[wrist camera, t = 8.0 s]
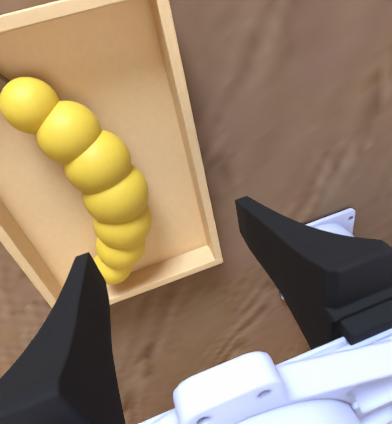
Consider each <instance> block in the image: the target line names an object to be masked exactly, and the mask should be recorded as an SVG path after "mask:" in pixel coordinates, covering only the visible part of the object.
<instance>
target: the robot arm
mask: <svg viewBox="0 0 392 424" xmlns="http://www.w3.org/2000/svg"><path fill="white" fill-rule="evenodd" d="M235 203H236V209H237V216H238V222H239V228H240V233H241V234H242V236H243V238H244V240H245V242H246V244H247V246H248V247H249V249H250V250H251V252H252V253H253V254H254V256H255V257H256V259H257V260H258V261H259V263H260V264H261V265H262V267H263V268H264V269H265V271H266V272H267V273H268V275H269V276H270V278H271V279H272V280H273V282H274V283H275V285H276V286H277V288H278V289H279V291H280V296H281V298H282V299H283V300H285V302H286V303H287V305H288V307H289V309H290V310H291V312H292V314H293V316H294V318H295V319H296V321H297V323H298V325H299V327H300V329H301V331H302V333H303V334H304V336H305V338H306V340H307V342H308V344H309V346H310V348H311V350H310V351H308V352H306V353H303V354H301V355H299V356H296V357H294V358H292V359H289V360H287V361H285V362H282V363H280V364H277V365H275V364H274V363H273V361H272V359H271V357H270V356H269V355H268V353H265V352H258V351H255V352H251V353H247V354H244V355H241V356H239V357H237V358H234V359H232V360H229V361H227V362H224V363H222V364H220V365H217V366H215V367H212V368H210V369H208V370H205V371H203V372H200V373H198V374H196V375H193V376H191V377H189V378H188V379H186V380H184V381H183V382H181V383H180V384H179V386H178V387H177V388H176V389H175V390H174V392H173V401H174V406H175V408H174V409H172V410H169V411H167V412H165V413H162V414H160V415H158V416H155V417H153V418H151V419H148V420H146V421H144V422H141V423H139V424H392V247H391V246H389V245H388V244H387V243H385V242H384V241H382V240H375V239H366V238H357V237H355V236H353V235H352V234H353V227H354V219H355V210H354V209H352V208H349V209H346V210H343V211H341V212H338V213H335V214H333V215H330V216H327V217H325V218H322V219H319V220H317V221H314V222H311V223H308V224H306V225H305V224H302V223H299V222H297V221H294V220H292V219H290V218H287V217H285V216H283V215H281V214H279V213H277V212H275V211H273V210H271V209H269V208H267V207H266V206H264V205H262V204H260V203H258V202H257V201H255V200H253V199H251V198H249V197H248V196H245V197H243V198H240V199H237V200H235ZM0 424H125V419H124V415H123V410H122V404H121V399H120V394H119V389H118V383H117V378H116V372H115V366H114V360H113V353H112V343H111V323H110V304H109V296H108V291H107V286H106V281H105V279H104V277H103V276H102V274H101V272H100V270H99V269H98V267H97V265H96V263H95V261H94V260H93V258H92V256H91V254H90V253H89V252H87V253H84V254H82V255H79V256H76V257H75V259H74V262H73V264H72V267H71V269H70V272H69V274H68V276H67V279H66V281H65V283H64V286H63V288H62V290H61V292H60V294H59V297H58V299H57V300H56V302H55V304H54V306H53V308H52V310H51V312H50V314H49V316H48V317H47V319H46V321H45V322H44V324H43V325H42V327H41V329H40V330H39V332H38V333H37V334H36V336H35V337H34V339H33V340H32V341H31V343H30V344H29V345H28V347H27V348H26V349H25V351H24V352H23V353H22V355H21V356H20V357H19V358H18V359H17V361H16V362H15V363H14V364H13V365H12V366H11V368H10V369H9V370H8V371H7V372H6V373H5V374H4V375H3V377H2V378H1V379H0Z"/></svg>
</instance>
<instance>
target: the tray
mask: <svg viewBox="0 0 392 424" xmlns="http://www.w3.org/2000/svg"><path fill="white" fill-rule="evenodd" d="M0 74H2V75H3V76H4V77H6V78H7V79H9V82H10V81H11V80H13V79H15V78H18V77H34V78H37V79H40V80H42V81H44V82H45V83H47V84H48V85H49V86H50V87H51V88H52V89H53V90H54V91H55V92H56V94H57V96H58V98H59V100H60V101H74V102H77V103H80V104H82V105H84V106H85V107H87V108H88V109H89V110H90V111H92V112H93V114H94V115H95V116H96V117H97V119H98V121H99V123H100V126H101V129H102V130H106V131H109V132H111V133H113V134H115V135H116V136H118V137H119V138H120V139H121V140H122V141H123V142H124V143H125V145H126V146H127V148H128V150H129V152H130V156H131V164H132V165H133V166H135V167H136V168H137V169H139V170H140V172H141V173H142V174H143V175H144V177H145V179H146V181H147V184H148V189H149V198H148V202H147V205H148V207H149V209H150V211H151V215H152V225H151V229H150V232H149V234H148V236H147V237H146V239H145V243H146V244H145V251H144V254H143V256H142V258H141V259H140V260H139V261H138V262H137V263H136V264H135V265H133V266H132V270H131V272H130V274H129V276H128V277H127V278H126V279H125V280H124V281H122V282H121V283H118V284H112V285H111V284H106V286H107V291H108V296H109V304H110V305H111V304H114V303H116V302H119V301H122V300H124V299H127V298H130V297H132V296H135V295H138V294H140V293H143V292H146V291H148V290H151V289H154V288H156V287H159V286H162V285H164V284H167V283H170V282H173V281H175V280H178V279H181V278H183V277H186V276H189V275H191V274H194V273H197V272H199V271H202V270H205V269H207V268H210V267H213V266H215V265H218V264H221V263H223V259H222V254H221V249H220V244H219V240H218V235H217V230H216V225H215V220H214V215H213V211H212V206H211V201H210V196H209V191H208V186H207V182H206V177H205V172H204V167H203V162H202V158H201V153H200V148H199V143H198V138H197V133H196V129H195V124H194V119H193V114H192V109H191V104H190V100H189V95H188V90H187V85H186V80H185V75H184V71H183V66H182V61H181V56H180V51H179V47H178V42H177V37H176V32H175V27H174V22H173V18H172V13H171V8H170V3H169V0H59V1H55V2H51V3H47V4H43V5H39V6H35V7H31V8H27V9H23V10H19V11H15V12H11V13H7V14H3V15H0ZM0 94H1V93H0ZM96 239H97V235H96V233H95V231H94V227H93V216H92V215H91V214H90V213H89V212H88V210H87V209H86V207H85V205H84V202H83V199H82V191H80V190H78V189H77V188H76V187H74V186H73V185H72V184H71V182H70V181H69V180H68V178H67V177H66V174H65V172H64V169H63V164H60V163H57V162H55V161H53V160H51V159H50V158H49V157H47V156H46V155H45V154H44V153H43V152H42V150H41V149H40V147H39V146H38V144H37V141H36V138H35V134H27V133H24V132H21V131H19V130H17V129H15V128H14V127H13V126H11V125H10V124H9V123H8V122H7V120H6V119H5V118H4V116H3V114H2V112H1V109H0V241H1V243H2V244H3V245H4V246H5V248H6V249H7V250H8V252H9V253H10V254H11V256H12V257H13V258H14V259H15V261H16V262H17V263H18V265H19V266H20V267H21V268H22V270H23V271H24V272H25V274H26V275H27V276H28V278H29V279H30V280H31V281H32V283H33V284H34V285H35V287H36V288H37V289H38V290H39V292H40V293H41V294H42V296H43V297H44V298H45V300H46V301H47V302H48V303H49V305H50V306H51V307H52V308H53V306H54V304H55V302H56V300H57V299H58V297H59V294H60V292H61V290H62V288H63V286H64V283H65V281H66V279H67V276H68V274H69V272H70V269H71V267H72V264H73V262H74V259H75V257H76V256H79V255H82V254H84V253H87V252H89V253H90V254H91V256H92V258H93V260H94V258H95V256H96V255H97V252H96Z"/></svg>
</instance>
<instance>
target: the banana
mask: <svg viewBox="0 0 392 424" xmlns="http://www.w3.org/2000/svg"><path fill="white" fill-rule="evenodd" d="M0 93H1V94H0V109H1V112H2V114H3V116H4V118H5V119H6V120H7V122H8V123H9V124H10V125H11V126H13V127H14V128H15V129H17V130H19V131H21V132H24V133H27V134H35V138H36V141H37V144H38V146H39V147H40V149H41V150H42V152H43V153H44V154H45V155H46V156H47V157H49V158H50V159H51V160H53V161H55V162H57V163H60V164H63V169H64V172H65V174H66V177H67V178H68V180H69V181H70V182H71V184H72V185H73V186H74V187H76V188H77V189H78V190H80V191H82V199H83V202H84V205H85V207H86V209H87V210H88V212H89V213H90V214H91V215H92V216H93V227H94V231H95V233H96V235H97V239H96V252H97V255H96V256H95V258H94V261H95V263H96V265H97V267H98V269H99V270H100V272H101V274H102V276H103V277H104V279H105V281H106V284H111V285H112V284H118V283H121V282H122V281H124V280H125V279H126V278H127V277H128V276H129V274H130V272H131V270H132V266H133V265H135V264H136V263H137V262H138V261H139V260H140V259H141V258H142V256H143V254H144V251H145V244H146V243H145V239H146V237H147V236H148V234H149V232H150V229H151V225H152V215H151V211H150V209H149V207H148V205H147V202H148V198H149V189H148V184H147V181H146V179H145V177H144V175H143V174H142V173H141V172H140V170H139V169H137V168H136V167H135V166H133V165H132V164H131V156H130V152H129V150H128V148H127V146H126V145H125V143H124V142H123V141H122V140H121V139H120V138H119V137H118V136H116V135H115V134H113V133H111V132H109V131H106V130H102V129H101V126H100V123H99V121H98V119H97V117H96V116H95V115H94V114H93V112H92V111H90V110H89V109H88V108H87V107H85V106H84V105H82V104H80V103H77V102H74V101H60V100H59V98H58V96H57V94H56V92H55V91H54V90H53V89H52V88H51V87H50V86H49V85H48V84H47V83H45V82H44V81H42V80H40V79H37V78H34V77H18V78H15V79H13V80H11V81H10V82H9V79H7V78H6V77H4V76H3V75H2V74H0Z"/></svg>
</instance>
